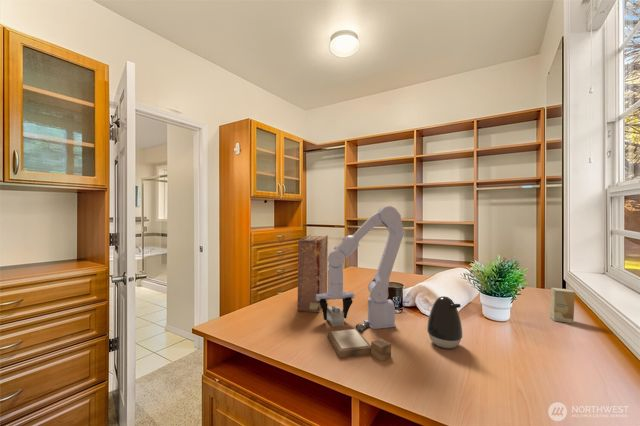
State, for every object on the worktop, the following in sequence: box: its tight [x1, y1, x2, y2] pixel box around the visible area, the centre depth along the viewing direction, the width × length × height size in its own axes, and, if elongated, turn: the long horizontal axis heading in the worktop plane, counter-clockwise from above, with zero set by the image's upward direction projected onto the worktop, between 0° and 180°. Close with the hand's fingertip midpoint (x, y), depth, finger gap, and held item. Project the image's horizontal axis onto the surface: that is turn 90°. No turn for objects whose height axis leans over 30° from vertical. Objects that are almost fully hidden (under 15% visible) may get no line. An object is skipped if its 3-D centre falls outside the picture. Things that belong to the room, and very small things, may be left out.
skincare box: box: [549, 287, 576, 324], centre depth 107 cm, size 6×4×12 cm
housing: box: [326, 305, 345, 328], centre depth 103 cm, size 4×8×6 cm, turn 14°
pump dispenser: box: [426, 295, 464, 349], centre depth 86 cm, size 10×10×15 cm
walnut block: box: [370, 338, 392, 362], centre depth 79 cm, size 4×4×4 cm
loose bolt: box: [355, 321, 370, 333], centre depth 97 cm, size 6×3×3 cm, turn 140°
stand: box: [327, 328, 371, 359], centre depth 85 cm, size 10×13×2 cm
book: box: [297, 234, 329, 313], centre depth 125 cm, size 25×9×30 cm, turn 171°
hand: (335, 318), depth 103 cm, fingers open, 7 cm apart
